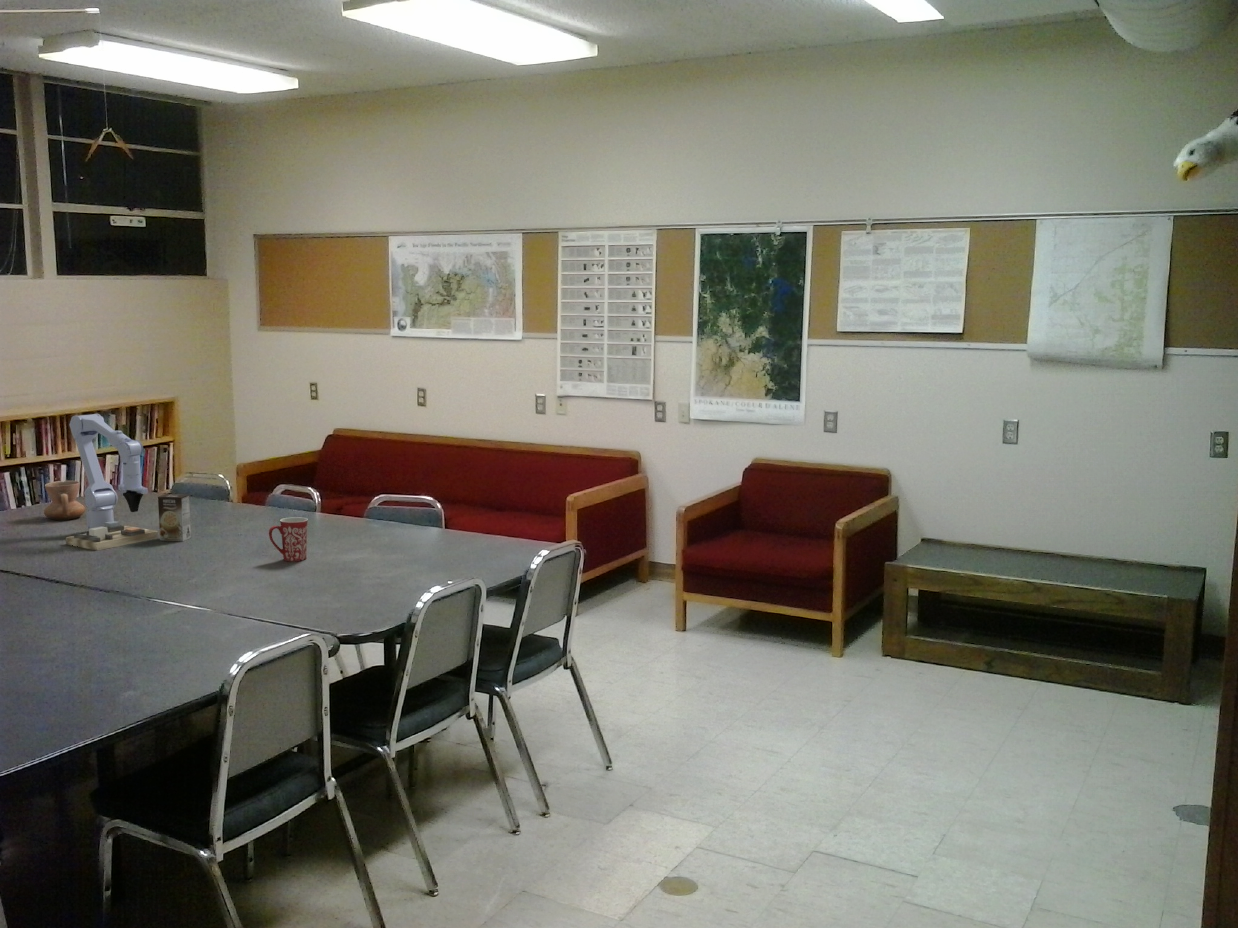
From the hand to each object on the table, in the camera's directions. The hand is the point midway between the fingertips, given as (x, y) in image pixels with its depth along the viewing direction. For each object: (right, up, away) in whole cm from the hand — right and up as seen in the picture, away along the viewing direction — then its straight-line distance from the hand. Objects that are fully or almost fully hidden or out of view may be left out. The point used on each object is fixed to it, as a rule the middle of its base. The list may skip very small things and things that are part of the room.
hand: (134, 511), depth 391 cm
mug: (+66, -15, -31) cm, 74 cm away
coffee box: (+15, -10, 0) cm, 18 cm away
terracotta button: (+1, -7, -4) cm, 9 cm away
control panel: (-6, -10, -4) cm, 13 cm away
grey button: (-9, -5, +2) cm, 11 cm away
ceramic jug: (-43, -5, +36) cm, 56 cm away
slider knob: (-6, -9, -13) cm, 17 cm away
